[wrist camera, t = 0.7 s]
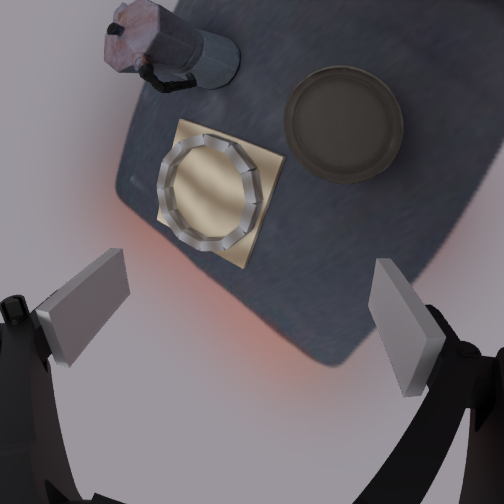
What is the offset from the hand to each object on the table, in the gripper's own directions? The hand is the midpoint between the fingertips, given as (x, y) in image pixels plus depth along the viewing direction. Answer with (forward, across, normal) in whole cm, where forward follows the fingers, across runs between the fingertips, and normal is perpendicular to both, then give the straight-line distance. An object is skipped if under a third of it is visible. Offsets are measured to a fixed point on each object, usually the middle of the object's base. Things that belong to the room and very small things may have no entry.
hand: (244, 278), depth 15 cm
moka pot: (+33, -8, +18) cm, 38 cm away
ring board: (+33, -8, -2) cm, 34 cm away
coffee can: (+26, +12, +8) cm, 29 cm away
